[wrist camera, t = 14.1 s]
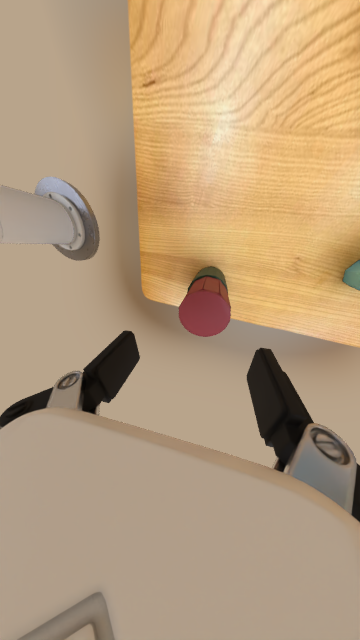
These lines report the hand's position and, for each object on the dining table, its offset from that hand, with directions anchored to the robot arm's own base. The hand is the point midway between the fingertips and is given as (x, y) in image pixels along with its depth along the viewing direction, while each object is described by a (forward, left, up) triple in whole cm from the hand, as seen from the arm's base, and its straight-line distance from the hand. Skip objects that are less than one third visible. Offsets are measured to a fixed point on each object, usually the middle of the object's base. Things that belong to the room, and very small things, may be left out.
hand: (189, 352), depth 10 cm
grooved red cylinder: (+1, 0, -16) cm, 16 cm away
